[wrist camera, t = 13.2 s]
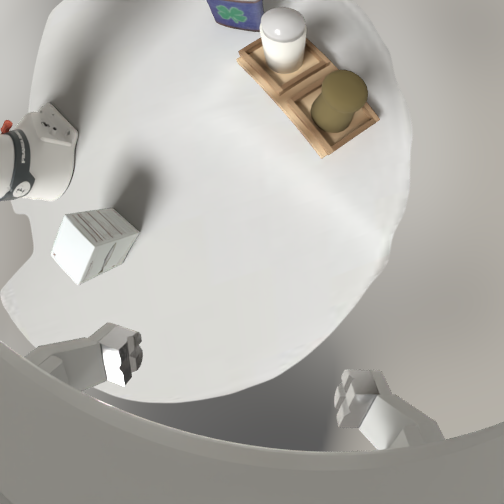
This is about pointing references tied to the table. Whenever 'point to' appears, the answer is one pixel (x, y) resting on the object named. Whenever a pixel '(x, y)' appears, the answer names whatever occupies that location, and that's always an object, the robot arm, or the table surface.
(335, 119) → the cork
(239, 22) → the flask
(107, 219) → the supplement box
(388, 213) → the table surface
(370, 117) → the caddy
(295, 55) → the salt shaker
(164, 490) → the robot arm
